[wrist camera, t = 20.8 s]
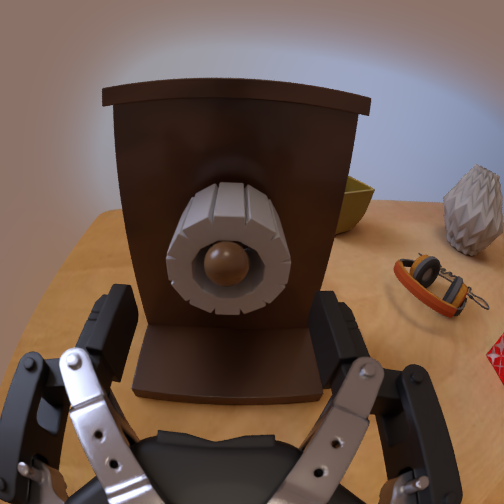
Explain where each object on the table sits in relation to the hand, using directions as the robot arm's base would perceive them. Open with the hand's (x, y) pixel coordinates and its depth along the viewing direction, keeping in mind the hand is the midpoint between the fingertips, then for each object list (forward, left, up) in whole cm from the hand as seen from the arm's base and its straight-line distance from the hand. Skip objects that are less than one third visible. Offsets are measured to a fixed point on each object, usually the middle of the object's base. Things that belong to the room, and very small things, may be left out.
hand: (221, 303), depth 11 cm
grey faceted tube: (0, +6, -1) cm, 6 cm away
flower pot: (+18, +33, -14) cm, 40 cm away
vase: (+50, +29, -14) cm, 60 cm away
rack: (0, +6, -14) cm, 15 cm away
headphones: (+30, +14, -14) cm, 36 cm away
